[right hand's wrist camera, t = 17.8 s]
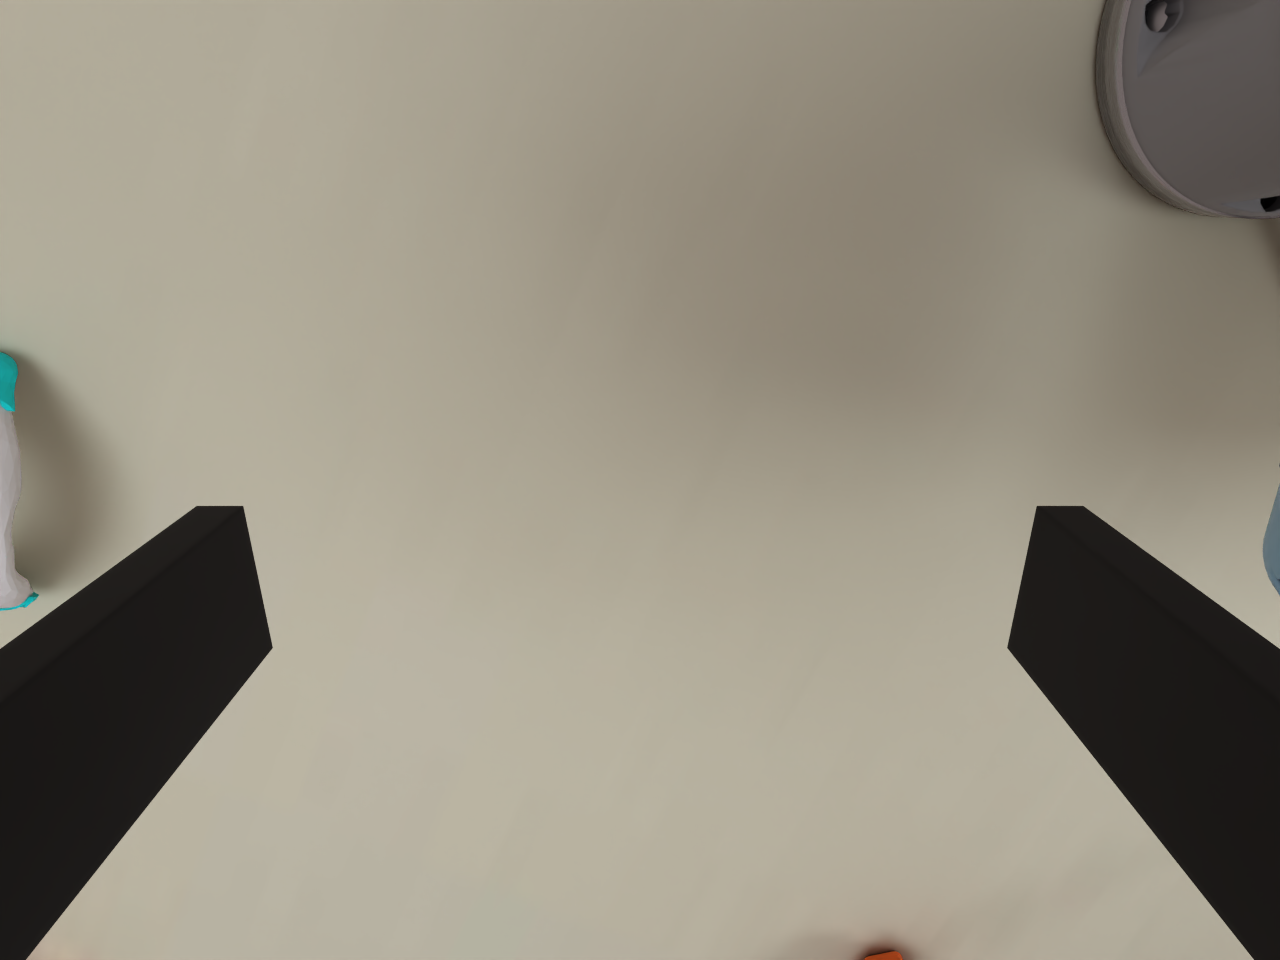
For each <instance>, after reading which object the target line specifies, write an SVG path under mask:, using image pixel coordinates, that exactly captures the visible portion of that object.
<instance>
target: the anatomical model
mask: <svg viewBox="0 0 1280 960" xmlns="http://www.w3.org/2000/svg"><path fill="white" fill-rule="evenodd" d="M17 375H18V369H17V364H16V362H15V361H14V360H13V358H11V357H10V356H8V355H7V354H5V353H2V352H0V611H2V610H11V609H16V608H19V607H27V606H28V605H29V604H30V603H31V602H33V601H34V600H36V599H37V597H38V596H39V595H38V594H36V593H35V592H34V591H33V589H32V587H31V586H30V583H29V582H28V580H27V579H26V578H24V577H23V576H21V575H20V574H19V573H18V572H17V571H16V569H15V559H14V547H13V545H12V534H11V528H12V523H13V518H14V513H15V508H16V506H17V503H18V501H19V498H20V494H21V481H22V476H21V456H20V448H19V443H18V439H17V434H16V429H15V425H14V420H13V415H12V411H15V400H14V390H15V383H16V379H17Z"/></svg>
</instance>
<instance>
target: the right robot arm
mask: <svg viewBox="0 0 1280 960" xmlns="http://www.w3.org/2000/svg"><path fill="white" fill-rule="evenodd" d="M1096 86H1097V95H1098V103H1099V107H1100V112H1101V117H1102V120H1103V124H1104V127H1105V130H1106V133H1107V136H1108V138H1109V140H1110V142H1111V144H1112V146H1113V149H1114V151H1115V152H1116V154H1117V156H1118V157H1119V159H1120V161H1121V162H1122V164H1123V165H1124V166H1125V168H1126V169H1127V170H1128V171H1129V173H1130V174H1131V175H1132V176H1133V177H1134V178H1135V179H1136V180H1137V181H1138V182H1139V183H1140V184H1141V185H1142V186H1143V187H1144V188H1145V189H1147V190H1148V191H1149V192H1150V193H1152V194H1153V195H1154V196H1156V197H1158V198H1159V199H1161V200H1163V201H1164V202H1166V203H1168V204H1170V205H1173V206H1175V207H1177V208H1180V209H1182V210H1186V211H1189V212H1192V213H1196V214H1201V215H1207V216H1216V217H1232V218H1250V219H1265V218H1278V217H1280V0H1107V1H1106V4H1105V8H1104V12H1103V16H1102V20H1101V25H1100V31H1099V37H1098V43H1097V56H1096ZM1279 466H1280V465H1279ZM1263 559H1264V564H1265V568H1266V571H1267V574H1268V577H1269V579H1270V581H1271V583H1272V584H1273V586H1274V587H1275V589H1276V590H1277V592H1278V594H1279V595H1280V485H1279V488H1278V492H1277V495H1276V498H1275V502H1274V505H1273V509H1272V512H1271V515H1270V519H1269V522H1268V526H1267V529H1266V532H1265V536H1264V540H1263ZM272 648H273V647H272V642H271V637H270V633H269V628H268V623H267V618H266V613H265V609H264V604H263V599H262V594H261V589H260V585H259V580H258V575H257V570H256V565H255V561H254V556H253V551H252V546H251V541H250V537H249V532H248V527H247V522H246V518H245V513H244V508H243V506H196V507H195V508H193V509H192V510H191V511H189V512H188V513H187V514H185V515H184V516H182V517H181V518H180V519H178V520H177V521H176V522H174V523H173V524H171V525H170V526H169V527H167V528H166V529H165V530H163V531H162V532H160V533H159V534H158V535H156V536H155V537H154V538H152V539H151V540H149V541H148V542H147V543H145V544H144V545H143V546H141V547H140V548H138V549H137V550H136V551H134V552H133V553H132V554H130V555H129V556H127V557H126V558H125V559H123V560H122V561H121V562H119V563H118V564H116V565H115V566H114V567H112V568H111V569H110V570H108V571H107V572H105V573H104V574H103V575H101V576H100V577H99V578H97V579H96V580H94V581H93V582H92V583H90V584H89V585H88V586H86V587H85V588H83V589H82V590H81V591H79V592H78V593H77V594H75V595H74V596H72V597H71V598H70V599H68V600H67V601H66V602H64V603H63V604H61V605H60V606H59V607H57V608H56V609H55V610H53V611H52V612H50V613H49V614H48V615H46V616H45V617H44V618H42V619H41V620H39V621H38V622H37V623H35V624H34V625H33V626H31V627H30V628H28V629H27V630H26V631H24V632H23V633H22V634H20V635H19V636H17V637H16V638H15V639H13V640H12V641H11V642H9V643H8V644H6V645H5V646H4V647H2V648H1V649H0V960H26V959H27V958H28V956H29V955H30V954H31V953H32V951H33V950H34V949H35V947H36V946H37V945H38V944H39V942H40V941H41V940H42V939H43V937H44V936H45V935H46V934H47V932H48V931H49V930H50V929H51V927H52V926H53V925H54V923H55V922H56V921H57V920H58V918H59V917H60V916H61V915H62V913H63V912H64V911H65V910H66V908H67V907H68V906H69V905H70V903H71V902H72V901H73V899H74V898H75V897H76V896H77V894H78V893H79V892H80V891H81V889H82V888H83V887H84V886H85V884H86V883H87V882H88V881H89V879H90V878H91V877H92V875H93V874H94V873H95V872H96V870H97V869H98V868H99V867H100V865H101V864H102V863H103V862H104V860H105V859H106V858H107V857H108V855H109V854H110V853H111V851H112V850H113V849H114V848H115V846H116V845H117V844H118V843H119V841H120V840H121V839H122V838H123V836H124V835H125V834H126V833H127V831H128V830H129V829H130V827H131V826H132V825H133V824H134V822H135V821H136V820H137V819H138V817H139V816H140V815H141V814H142V812H143V811H144V810H145V809H146V807H147V806H148V805H149V803H150V802H151V801H152V800H153V798H154V797H155V796H156V795H157V793H158V792H159V791H160V790H161V788H162V787H163V786H164V784H165V783H166V782H167V781H168V779H169V778H170V777H171V776H172V774H173V773H174V772H175V771H176V769H177V768H178V767H179V766H180V764H181V763H182V762H183V760H184V759H185V758H186V757H187V755H188V754H189V753H190V752H191V750H192V749H193V748H194V747H195V745H196V744H197V743H198V742H199V740H200V739H201V738H202V736H203V735H204V734H205V733H206V731H207V730H208V729H209V728H210V726H211V725H212V724H213V723H214V721H215V720H216V719H217V718H218V716H219V715H220V714H221V712H222V711H223V710H224V709H225V707H226V706H227V705H228V704H229V702H230V701H231V700H232V699H233V697H234V696H235V695H236V694H237V692H238V691H239V690H240V688H241V687H242V686H243V685H244V683H245V682H246V681H247V680H248V678H249V677H250V676H251V675H252V673H253V672H254V671H255V670H256V668H257V667H258V666H259V664H260V663H261V662H262V661H263V659H264V658H265V657H266V656H267V654H268V653H269V652H270V651H271V649H272ZM1007 648H1008V649H1009V651H1010V652H1011V653H1012V654H1013V656H1014V657H1015V658H1016V659H1017V661H1018V662H1019V663H1020V664H1021V666H1022V667H1023V668H1024V670H1025V671H1026V672H1027V673H1028V675H1029V676H1030V677H1031V678H1032V680H1033V681H1034V682H1035V683H1036V685H1037V686H1038V687H1039V688H1040V690H1041V691H1042V692H1043V694H1044V695H1045V696H1046V697H1047V699H1048V700H1049V701H1050V702H1051V704H1052V705H1053V706H1054V707H1055V709H1056V710H1057V711H1058V712H1059V714H1060V715H1061V716H1062V718H1063V719H1064V720H1065V721H1066V723H1067V724H1068V725H1069V726H1070V728H1071V729H1072V730H1073V731H1074V733H1075V734H1076V735H1077V736H1078V738H1079V739H1080V740H1081V742H1082V743H1083V744H1084V745H1085V747H1086V748H1087V749H1088V750H1089V752H1090V753H1091V754H1092V755H1093V757H1094V758H1095V759H1096V760H1097V762H1098V763H1099V764H1100V766H1101V767H1102V768H1103V769H1104V771H1105V772H1106V773H1107V774H1108V776H1109V777H1110V778H1111V779H1112V781H1113V782H1114V783H1115V784H1116V786H1117V787H1118V788H1119V790H1120V791H1121V792H1122V793H1123V795H1124V796H1125V797H1126V798H1127V800H1128V801H1129V802H1130V803H1131V805H1132V806H1133V807H1134V809H1135V810H1136V811H1137V812H1138V814H1139V815H1140V816H1141V817H1142V819H1143V820H1144V821H1145V822H1146V824H1147V825H1148V826H1149V827H1150V829H1151V830H1152V831H1153V833H1154V834H1155V835H1156V836H1157V838H1158V839H1159V840H1160V841H1161V843H1162V844H1163V845H1164V846H1165V848H1166V849H1167V850H1168V851H1169V853H1170V854H1171V855H1172V857H1173V858H1174V859H1175V860H1176V862H1177V863H1178V864H1179V865H1180V867H1181V868H1182V869H1183V870H1184V872H1185V873H1186V874H1187V875H1188V877H1189V878H1190V879H1191V881H1192V882H1193V883H1194V884H1195V886H1196V887H1197V888H1198V889H1199V891H1200V892H1201V893H1202V894H1203V896H1204V897H1205V898H1206V899H1207V901H1208V902H1209V903H1210V905H1211V906H1212V907H1213V908H1214V910H1215V911H1216V912H1217V913H1218V915H1219V916H1220V917H1221V918H1222V920H1223V921H1224V922H1225V923H1226V925H1227V926H1228V927H1229V929H1230V930H1231V931H1232V932H1233V934H1234V935H1235V936H1236V937H1237V939H1238V940H1239V941H1240V942H1241V944H1242V945H1243V946H1244V947H1245V949H1246V950H1247V951H1248V953H1249V954H1250V955H1251V956H1252V958H1253V959H1254V960H1280V649H1279V648H1278V647H1276V646H1275V645H1273V644H1272V643H1271V642H1269V641H1268V640H1267V639H1265V638H1264V637H1262V636H1261V635H1260V634H1258V633H1257V632H1256V631H1254V630H1253V629H1251V628H1250V627H1249V626H1247V625H1246V624H1245V623H1243V622H1242V621H1240V620H1239V619H1238V618H1236V617H1235V616H1234V615H1232V614H1231V613H1229V612H1228V611H1227V610H1225V609H1224V608H1223V607H1221V606H1220V605H1218V604H1217V603H1216V602H1214V601H1213V600H1212V599H1210V598H1209V597H1207V596H1206V595H1205V594H1203V593H1202V592H1201V591H1199V590H1198V589H1197V588H1195V587H1194V586H1192V585H1191V584H1190V583H1188V582H1187V581H1186V580H1184V579H1183V578H1181V577H1180V576H1179V575H1177V574H1176V573H1175V572H1173V571H1172V570H1170V569H1169V568H1168V567H1166V566H1165V565H1164V564H1162V563H1161V562H1159V561H1158V560H1157V559H1155V558H1154V557H1153V556H1151V555H1150V554H1148V553H1147V552H1146V551H1144V550H1143V549H1142V548H1140V547H1139V546H1137V545H1136V544H1135V543H1133V542H1132V541H1131V540H1129V539H1128V538H1126V537H1125V536H1124V535H1122V534H1121V533H1120V532H1118V531H1117V530H1115V529H1114V528H1113V527H1111V526H1110V525H1109V524H1107V523H1106V522H1104V521H1103V520H1102V519H1100V518H1099V517H1098V516H1096V515H1095V514H1093V513H1092V512H1091V511H1089V510H1088V509H1087V508H1085V507H1084V506H1037V508H1036V513H1035V517H1034V522H1033V527H1032V532H1031V537H1030V541H1029V546H1028V551H1027V556H1026V561H1025V565H1024V570H1023V575H1022V580H1021V585H1020V589H1019V594H1018V599H1017V604H1016V609H1015V613H1014V618H1013V623H1012V628H1011V633H1010V637H1009V642H1008V647H1007Z"/></svg>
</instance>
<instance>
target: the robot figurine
mask: <svg viewBox="0 0 1280 960" xmlns="http://www.w3.org/2000/svg"><path fill="white" fill-rule="evenodd" d="M864 960H903V959H902V956H901V955H900V953H898V952H896V951H892V952H887V953H882V954H877V955H872V956H868V957H866V958H865V959H864Z"/></svg>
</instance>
